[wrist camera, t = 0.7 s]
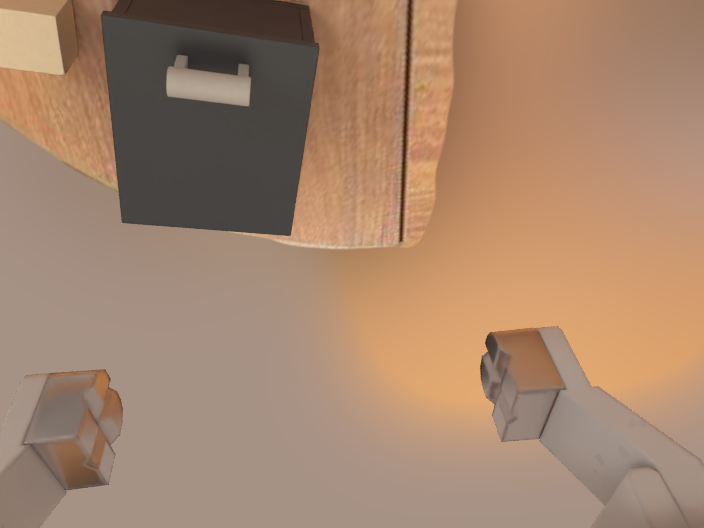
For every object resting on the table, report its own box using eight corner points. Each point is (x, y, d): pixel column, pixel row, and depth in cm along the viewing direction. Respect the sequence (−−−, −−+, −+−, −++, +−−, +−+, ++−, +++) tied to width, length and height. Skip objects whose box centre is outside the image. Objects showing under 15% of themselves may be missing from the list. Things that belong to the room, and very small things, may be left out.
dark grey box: (132, -24, 43) (104, 22, 36) (309, 5, 46) (317, 54, 39) (143, 153, 53) (123, 216, 46) (287, 168, 56) (290, 230, 49)
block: (7, -14, 42) (-14, 6, 39) (71, -4, 43) (55, 16, 40) (19, 44, 45) (0, 67, 42) (79, 52, 46) (64, 75, 43)
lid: (103, 10, 35) (83, 40, 31) (318, 42, 38) (324, 74, 34) (123, 217, 46) (111, 258, 42) (290, 230, 49) (292, 270, 45)
